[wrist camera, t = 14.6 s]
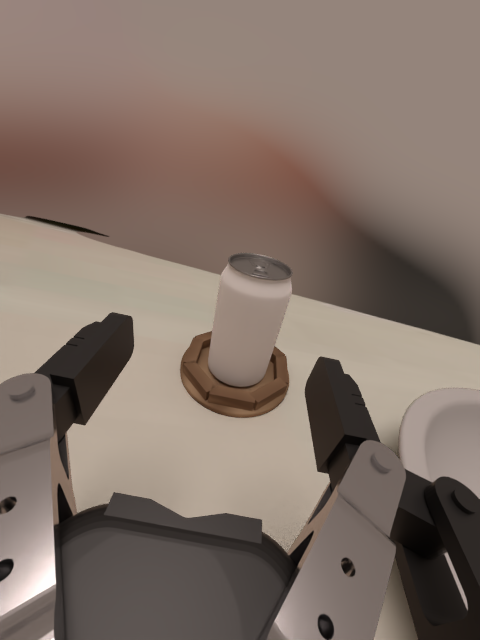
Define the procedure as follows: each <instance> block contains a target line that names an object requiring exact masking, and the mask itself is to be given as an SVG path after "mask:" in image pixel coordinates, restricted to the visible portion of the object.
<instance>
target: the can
mask: <svg viewBox="0 0 480 640" xmlns="http://www.w3.org/2000/svg"><path fill="white" fill-rule="evenodd" d="M228 262H229V263H228V265H227V266H226V268H225V269H224V271H223V272H222V275H221V279H220V284H219V290H218V297H217V303H216V310H215V316H214V323H213V329H212V336H211V343H210V349H209V357H208V366H209V369H210V371H211V373H212V374H213V375H214V376H215V377H216V378H217V379H218V380H219V381H221V382H223V383H224V384H227V385H229V386H233V387H248V386H251V385H254V384H256V383H258V382H260V381H261V380H262V379H263V377H264V375H265V373H266V370H267V367H268V364H269V361H270V358H271V355H272V352H273V349H274V346H275V343H276V340H277V337H278V334H279V331H280V328H281V325H282V321H283V318H284V315H285V312H286V309H287V306H288V303H289V299H290V296H291V292H292V286H291V279H290V277H291V276H292V273H293V272H292V269H291V268H290V267H289V266H287V265H286V264H285V263H283V262H281V261H279V260H277V259H274V258H271V257H268V256H264V255H259V254H253V253H238V254H234V255H231V256H230V257H229V259H228Z"/></svg>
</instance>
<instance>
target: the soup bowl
mask: <svg viewBox="0 0 480 640" xmlns="http://www.w3.org/2000/svg"><path fill="white" fill-rule="evenodd" d="M399 458H400V461H401V462H402V464H403V466H404V468H405V469H407V470H408V471H410V472H412V473H414V474H416V475H418V476H420V477H422V478H424V479H426V480H428V481H430V482H434V481H435V480H436V479H438V478H439V477H442V476H446V477H450V478H453V479H455V480H457V481H459V482H461V483H462V484H464V485H465V486H467V487H468V488H469V489H470V490H471V491H472V492H473V493H474V494H475V495H476V496H477V497H478V498H479V499H480V390H475V389H468V388H443V389H437V390H433V391H430V392H427V393H425V394H423V395H421V396H420V397H418V398H417V399H416V400H414V401H413V402H412V403H411V405H410V406H409V407H408V408H407V410H406V412H405V414H404V416H403V419H402V423H401V426H400V432H399ZM445 557H446V559H447V562H448V564H449V567H450V569H451V571H452V574H453V576H454V579H455V581H456V584H457V586H458V589H459V591H460V594H461V596H462V598H463V601H464V603H465V606H466V608H467V611H468V605H467V600H466V596H465V594H464V591H463V589H462V586H461V584H460V582H459V579H458V577H457V574H456V572H455V570H454V567H453V565H452V562H451V560H450V558H449V555H448V553H445Z"/></svg>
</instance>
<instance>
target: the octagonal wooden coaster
mask: <svg viewBox="0 0 480 640" xmlns="http://www.w3.org/2000/svg"><path fill="white" fill-rule="evenodd" d="M211 336H212V331H211V332H207V333H204V334H201V335H198V336H195V338H193V340H192V342H191V345H190V347H189V348H188V349H187V350H186V352H185V353H184V355H183V358H182V361H181V369H180V371H181V379H182V382H183V384H184V387H185V388H186V390H187V392H188V393H189V394H190V395H191V396H192V398H194V399H195V400H196V401H197V402H198V403H200V404H201V405H202V406H204V407H206V408H208V409H209V410H211V411H214V412H216V413H219V414H222V415H226V416H232V417H254V416H258V415H262V414H265V413H267V412H269V411H271V410H273V409H274V408H275V407H277V406H278V405H279V404H280V403H281V402H282V400H283V399H284V397H285V395H286V392H287V390H288V387H289V374H288V370H287V360H286V356H285V354H284V353H282V352H281V351H280V350H279V349H277V348H276V347H275V346H274V349H273V352H272V355H271V358H270V361H269V364H268V367H267V370H266V373H265V375H264V377H263V379H262V380H261V381H260V382H258V383H256V384H254V385H251V386H248V387H233V386H229V385H227V384H224V383H223V382H221V381H219V380H218V379H217V378H216V377H215V376H214V375H213V374H212V373H211V371H210V369H209V366H208V357H209V349H210V343H211Z"/></svg>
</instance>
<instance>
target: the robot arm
mask: <svg viewBox="0 0 480 640" xmlns="http://www.w3.org/2000/svg"><path fill="white" fill-rule="evenodd" d="M133 349H134V335H133V319H132V317H131V316H128V315H123V314H118V313H113V312H112V313H110V314H109V315H108V316H107V317H106V318H105V319H104V320H103V321H102V322H94V323H92V324H90V325H87V326H85V327H83V328H82V329H81V330H80V331H79V332H78V333H77V334H76V335H75V336H74V338H71V339H70V340H69V341H68V342H67V343H66V345H64V346H63V347H62V348H61V349H60V350H58V351H57V352H56V353H55V354H54V355H53V356H52V357H51V358H50V359H49V360H48V361H47V362H46V363H45V364H43V365H42V366H41V367H40V368H39V369H38V370H37V371H36V372H35V373H30V374H22V375H19V376H16V377H13V378H10V379H8V380H6V381H5V382H3V383H1V384H0V640H374V636H375V632H376V628H377V624H378V621H379V617H380V613H381V609H382V605H383V601H384V597H385V593H386V589H387V585H388V581H389V577H390V573H391V570H392V566H393V562H394V558H396V561H397V565H398V568H399V572H400V576H401V579H402V583H403V586H404V590H405V593H406V597H407V600H408V604H409V608H410V611H411V615H412V618H413V622H414V625H415V629H416V632H417V636H418V640H480V499H479V498H478V497H477V496H476V495H475V494H474V493H473V492H472V491H471V490H470V489H469V488H468V487H467V486H465V485H464V484H462V483H461V482H459V481H457V480H455V479H453V478H450V477H446V476H442V477H439V478H438V479H436V480H435V481H434V482H430V481H428V480H426V479H424V478H422V477H420V476H418V475H416V474H414V473H412V472H410V471H408V470H407V469H405V468H404V466H403V464H402V462H401V461H400V459H399V458H398V457H397V455H396V454H395V453H394V452H393V451H392V450H391V449H389V448H388V447H387V446H385V445H384V444H382V443H381V442H380V440H379V437H378V435H377V432H376V430H375V427H374V425H373V422H372V420H371V417H370V415H369V412H368V410H367V407H365V402H364V400H363V398H362V395H361V392H360V390H359V387H358V385H357V384H356V383H355V381H354V380H353V379H352V378H351V377H350V375H348V374H344V372H343V369H342V366H341V364H340V362H339V360H335V359H330V358H326V357H319V358H318V360H317V362H316V364H315V366H314V368H313V370H312V372H311V374H310V376H309V378H308V380H307V383H306V387H305V398H306V404H307V410H308V416H309V422H310V428H311V434H312V441H313V447H314V453H315V459H316V465H317V471H318V472H322V473H328V474H329V478H330V482H329V484H328V485H327V487H326V489H325V490H324V492H323V494H322V496H321V497H320V499H319V501H318V503H317V504H316V506H315V508H314V510H313V512H312V513H311V515H310V517H309V519H308V520H307V522H306V524H305V526H304V527H303V529H302V531H301V532H300V534H299V535H298V537H297V538H296V539H295V541H294V542H293V544H292V546H291V547H290V549H289V550H288V552H287V553H286V551H285V550H284V549H283V548H282V547H281V546H280V545H279V544H278V543H277V542H276V541H275V540H273V539H272V538H271V537H269V536H268V535H267V534H265V533H263V532H262V520H260V519H254V518H249V517H244V516H238V515H233V514H228V513H224V514H216V515H209V516H201V517H193V518H185V517H182V516H180V515H179V514H177V513H175V512H173V511H171V510H170V509H168V508H166V507H164V506H162V505H160V504H159V503H157V502H155V501H153V500H151V499H147V498H142V497H136V496H131V495H126V494H120V493H115V492H114V493H113V496H112V498H111V500H110V502H109V504H103V505H99V506H95V507H92V508H89V509H86V510H84V511H81V512H79V513H77V509H76V502H75V497H74V493H73V487H72V479H71V469H70V458H69V448H68V437H67V431H68V429H69V428H70V427H71V425H72V424H73V423H76V424H81V425H86V423H87V422H88V420H89V419H90V417H91V416H92V414H93V413H94V411H95V410H96V408H97V407H98V405H99V404H100V402H101V401H102V399H103V398H104V396H105V395H106V393H107V392H108V390H109V389H110V388H111V386H112V385H113V383H114V382H115V380H116V379H117V377H118V376H119V374H120V373H121V371H122V370H123V368H124V367H125V365H126V364H127V362H128V361H129V359H130V358H131V355H132V353H133ZM445 553H448V555H449V558H450V560H451V562H452V565H453V567H454V570H455V572H456V574H457V577H458V579H459V582H460V584H461V586H462V589H463V591H464V594H465V596H466V600H467V605H468V611H467V608H466V606H465V603H464V601H463V598H462V596H461V594H460V591H459V589H458V586H457V584H456V581H455V579H454V576H453V574H452V571H451V569H450V567H449V564H448V562H447V559H446V557H445Z"/></svg>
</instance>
